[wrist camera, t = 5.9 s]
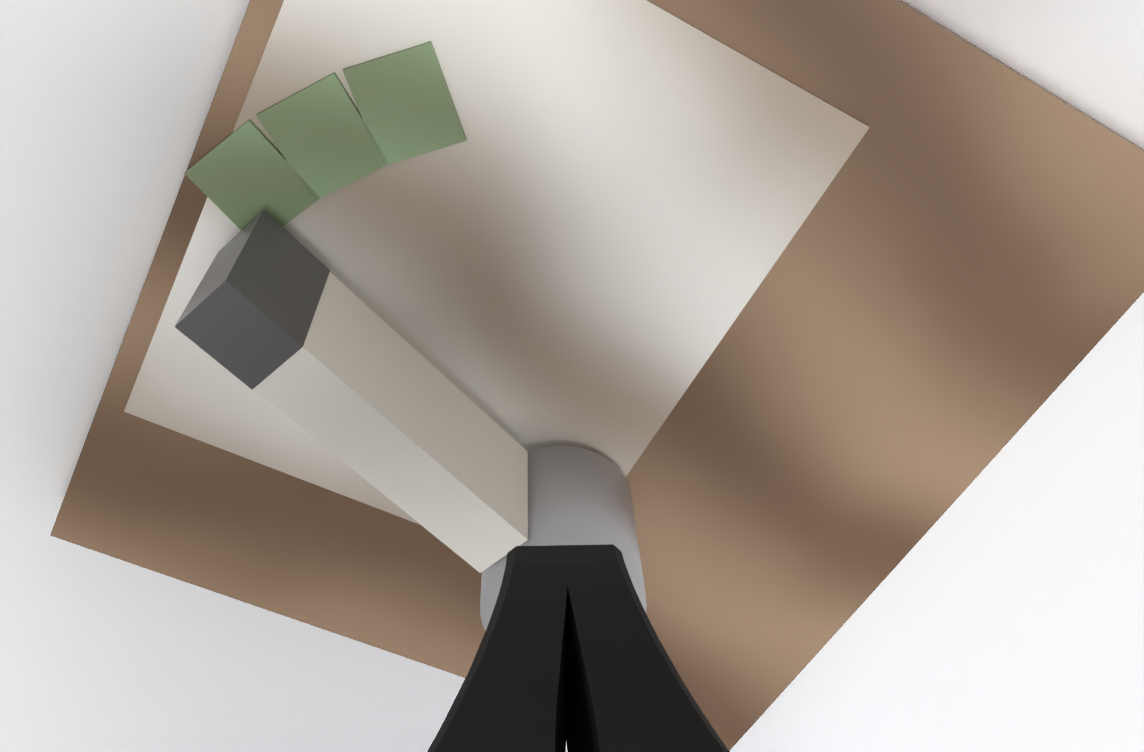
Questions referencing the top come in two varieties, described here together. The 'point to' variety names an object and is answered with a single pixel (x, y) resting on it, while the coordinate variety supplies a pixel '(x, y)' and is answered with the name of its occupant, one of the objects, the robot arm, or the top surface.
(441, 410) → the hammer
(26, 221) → the top surface
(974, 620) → the top surface
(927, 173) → the brown tray
